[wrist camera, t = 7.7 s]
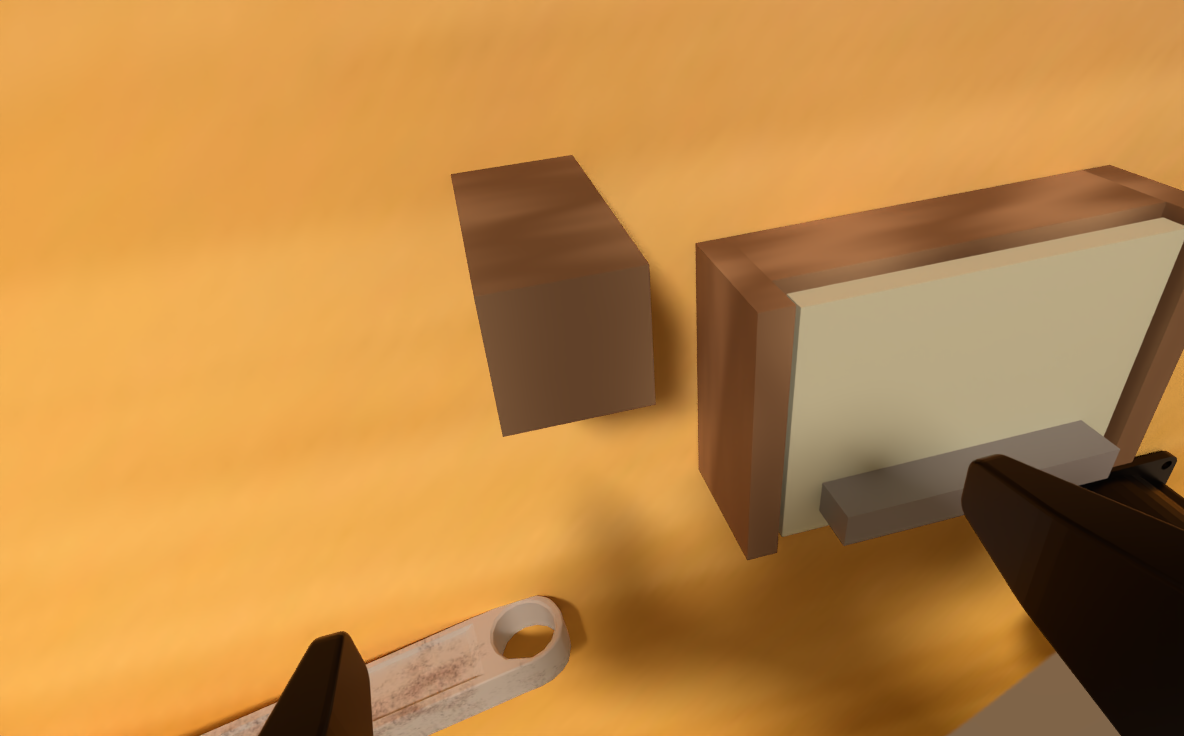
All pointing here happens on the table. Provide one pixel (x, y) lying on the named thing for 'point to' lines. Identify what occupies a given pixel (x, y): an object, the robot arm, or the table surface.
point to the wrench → (451, 673)
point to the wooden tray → (874, 247)
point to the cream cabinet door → (963, 375)
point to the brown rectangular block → (555, 295)
